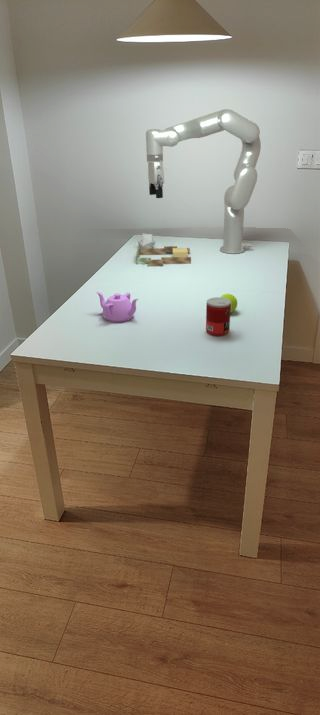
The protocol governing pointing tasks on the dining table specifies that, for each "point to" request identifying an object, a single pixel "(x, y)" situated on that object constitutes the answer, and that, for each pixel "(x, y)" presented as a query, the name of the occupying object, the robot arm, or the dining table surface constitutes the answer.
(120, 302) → the teapot
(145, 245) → the die
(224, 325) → the canned food
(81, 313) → the dining table surface
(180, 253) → the block
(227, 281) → the dining table surface
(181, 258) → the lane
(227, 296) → the tennis ball
